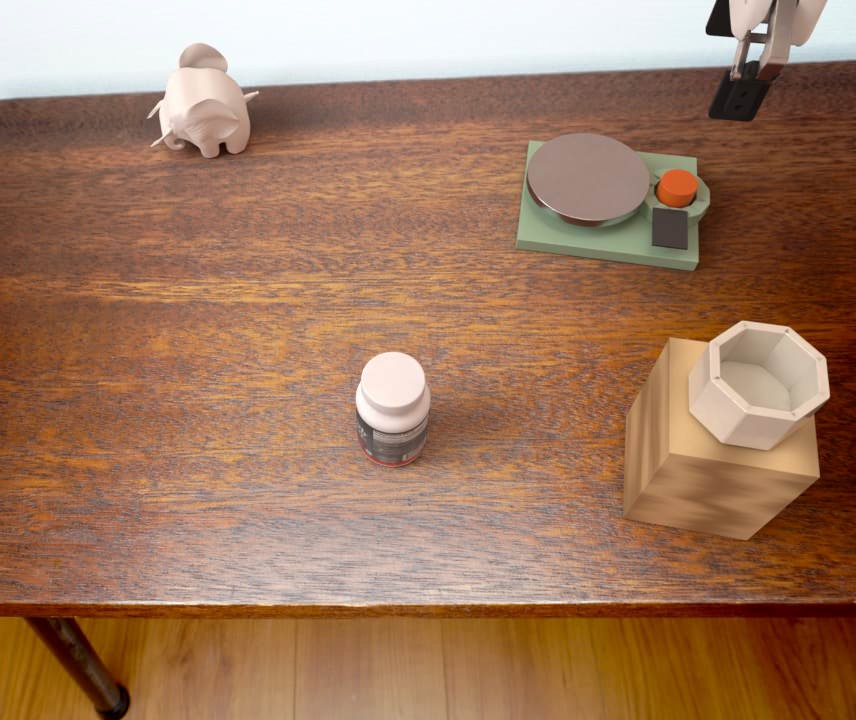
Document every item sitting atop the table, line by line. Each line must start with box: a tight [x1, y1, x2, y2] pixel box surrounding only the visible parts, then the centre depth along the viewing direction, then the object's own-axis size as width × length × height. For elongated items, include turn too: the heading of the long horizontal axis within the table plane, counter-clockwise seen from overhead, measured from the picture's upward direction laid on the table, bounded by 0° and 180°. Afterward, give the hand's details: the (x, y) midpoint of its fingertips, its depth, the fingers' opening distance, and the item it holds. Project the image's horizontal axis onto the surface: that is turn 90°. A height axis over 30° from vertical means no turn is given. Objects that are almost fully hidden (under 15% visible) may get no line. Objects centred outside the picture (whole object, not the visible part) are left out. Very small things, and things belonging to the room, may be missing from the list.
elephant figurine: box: [146, 42, 260, 159], centre depth 83 cm, size 10×12×9 cm
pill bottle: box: [354, 351, 432, 468], centre depth 63 cm, size 6×6×10 cm
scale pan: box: [526, 132, 688, 250], centre depth 76 cm, size 14×12×1 cm
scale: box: [515, 139, 711, 272], centre depth 77 cm, size 17×13×3 cm
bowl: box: [689, 320, 831, 450], centre depth 52 cm, size 7×7×4 cm
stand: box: [622, 336, 821, 541], centre depth 59 cm, size 9×9×12 cm
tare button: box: [656, 169, 698, 208], centre depth 75 cm, size 3×3×2 cm
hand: (727, 74), depth 64 cm, fingers open, 9 cm apart
